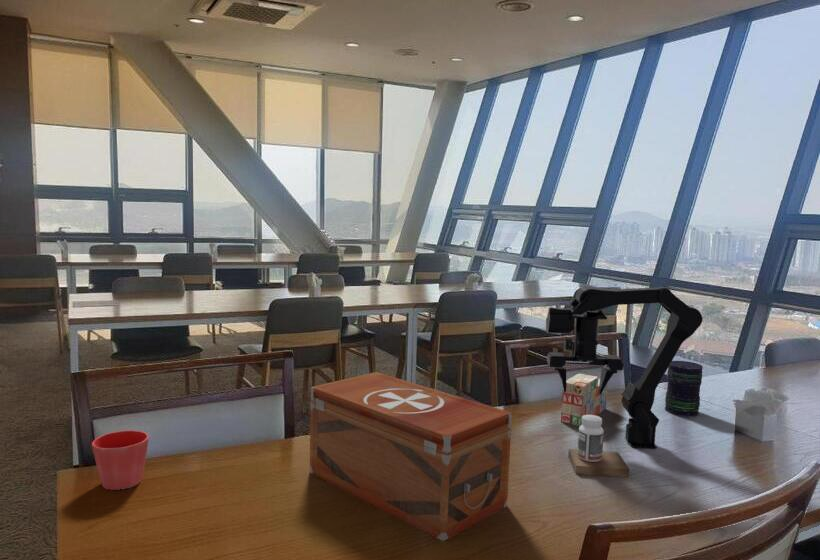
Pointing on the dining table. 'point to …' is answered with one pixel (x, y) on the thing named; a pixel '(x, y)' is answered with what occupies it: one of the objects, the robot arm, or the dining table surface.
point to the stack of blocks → (582, 399)
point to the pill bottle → (590, 438)
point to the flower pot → (120, 458)
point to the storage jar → (683, 388)
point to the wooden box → (411, 450)
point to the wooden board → (600, 464)
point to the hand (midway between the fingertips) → (582, 392)
